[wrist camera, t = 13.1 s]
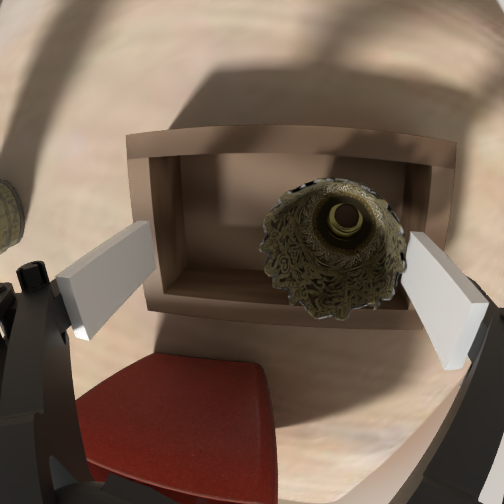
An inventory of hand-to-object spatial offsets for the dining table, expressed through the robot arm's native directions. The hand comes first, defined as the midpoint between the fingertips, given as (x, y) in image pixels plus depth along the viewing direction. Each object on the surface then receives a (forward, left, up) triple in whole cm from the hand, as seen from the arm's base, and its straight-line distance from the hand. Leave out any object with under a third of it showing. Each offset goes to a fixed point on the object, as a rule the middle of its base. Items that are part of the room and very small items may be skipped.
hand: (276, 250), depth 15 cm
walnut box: (0, 0, -9) cm, 9 cm away
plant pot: (+22, -8, -10) cm, 26 cm away
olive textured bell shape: (0, +4, -8) cm, 9 cm away
